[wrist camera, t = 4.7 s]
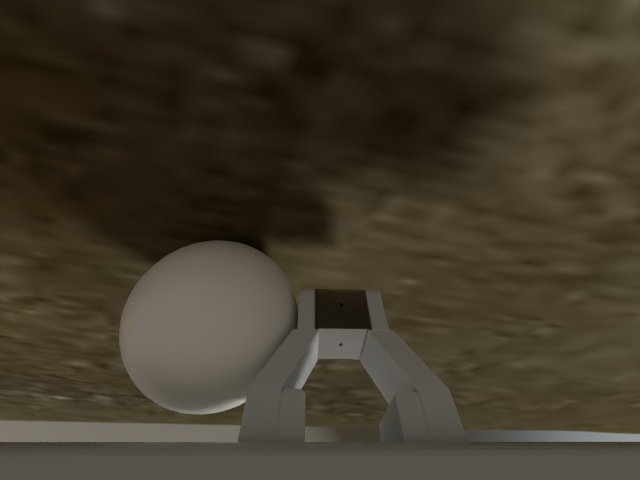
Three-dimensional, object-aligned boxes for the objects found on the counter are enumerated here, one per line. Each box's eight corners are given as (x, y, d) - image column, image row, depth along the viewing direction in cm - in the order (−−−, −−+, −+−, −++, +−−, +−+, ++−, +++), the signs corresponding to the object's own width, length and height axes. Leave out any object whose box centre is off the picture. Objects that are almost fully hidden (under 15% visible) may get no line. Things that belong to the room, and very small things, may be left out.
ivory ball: (287, 200, 9) (225, 355, 5) (320, 302, 12) (300, 447, 8) (152, 218, 10) (10, 354, 6) (215, 306, 14) (151, 435, 9)
